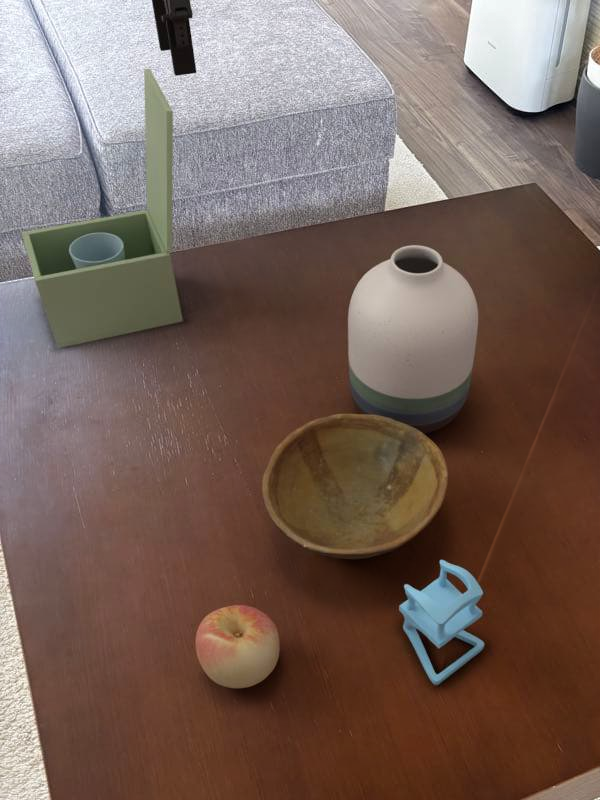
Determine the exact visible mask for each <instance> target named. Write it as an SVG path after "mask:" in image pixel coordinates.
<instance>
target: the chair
mask: <svg viewBox="0 0 600 800" xmlns="http://www.w3.org/2000/svg"><path fill="white" fill-rule="evenodd" d="M439 566H440V571H439V577H438V578H436V579H435V580H433V581H432V582H431V583H430V584H428V585H427V586H426V587H424V588H423V589H422V590H419V589H416V588H414V587H412V586H411V585H410V584H408V583H405V584H404V585H403V589H404V591H405V595H406V597H407V600H405V601H404V602H402V603H400V605H398V611H399V612H400V613H401V614H402V616H403V618H404V621H403V625H402V629H403V631H404V632H405V634H406V636H407V637H408V639H409V641H410V642H411V644H412V647H413V649H414V651H415V653H416V655H417V657H418V659H419V661H420V663H421V665H422V667H423V669H424V671H425V673H426V675H427V677H428V678H429V680H430V682H431V683H432V684H433V685H434V686H438V685H440V684H441V683H443V682H444V681H445V680H446V679H447V678H449V677H450V676H451V675H452V674H454V673H456V671H458V670H459V669H460V668H461V667H463V666H464V665H465V664H467V663H468V662H469V661H471V659H473V658H474V657H475V656H477V655H478V654H479V653H480V652H482V651H483V649H484V648H485V642H484V641H483V640H482V639H481V638H478V636H475V635H473V634H471V633H469V632H467V631H465V629H466V628H469V626H471V625H473V623H475V622H476V621H478V620H479V619H480V618H482V617H483V611H482V609H480V608H479V607H478V606H477V604H478V602H479V601H480V600H481V598H482V596H483V595H484V592H483V591H484V590H483V589H482V587H481V585H480V584H479V582H478V581H477V580H476V578H475V577H474V575H473V574H471V573H470V572H469V571H468V570H467V569H465V568H464V567H461V566H459V565H455V564H452V563H449V562H448V561H446V560H444V559H440V560H439ZM448 573H449V574H451V575H453V576H455V577H457V578H458V579H459V580H460V581H461V582H462V584H464V585H465V587H466V588H467V590H466V591H465V592H464V593H462V592H461V591H460V590H459V589H457V587H456V586H455V585H454V584H453V583H452V582H450V581H449V579H447V577H448V576H447V574H448ZM417 630H418V631H419V632H421V633H422V634H423V635H424V636H425V637H426V638H427V639H428V640H429V641H430V642H431V643H432V644H434V646H436V648H437V649H440V648H442V647H443V646H445V645H446V644H447V643H448V642H450V641H451V640H452V639H453V638H456V639H458V640H461V641H463V642H465V643H466V644H467V643H468V644H469V645H472V646H473V647H472V648H471V649H469V651H467V652H466V653H464V654H463V655H462V656H461V657H459V658H458V659H457V660H455V661H454V662H452V663H451V664H450V665H449V666H447V667H446V668H444V669H443V670H442V671H441V672H439V673H436V672H435V670H434V666H433V664H432V663H431V659H430V658H429V655H428V653H427V650H426V648H425V646H424V644H423V642H422V639H421V637H420V634H419V632H418V631H417Z"/></svg>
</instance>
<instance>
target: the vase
mask: <svg viewBox="0 0 600 800" xmlns="http://www.w3.org/2000/svg"><path fill="white" fill-rule="evenodd" d="M474 293H475V292H474V291H473V289H472V287H471V285H470V284H469V282H468V281H467V279H466V278H465V277H464V276H463V275H462V274H461V273H460V272H459V271H458V270H456V269H455V268H453V267H452V266H450V265H449V264H447V263H445V262H444V261H443V257H442V255H440V253H439V252H438V251H436V250H435V249H433V248H431V247H428V246H424V245H419V244H418V245H417V244H416V245H414V244H412V245H411V244H410V245H405V246H402V247H399V248H397V249H396V250H395V251H394V252H393V253H392V254H391V256H390V258H389V259H387V260H384V261H382V262H379V263H378V264H376V265H375V266H373V267H372V268H371V269H370V270H368V271H367V272H366V273H365V274H364V275H363V276H362V277H361V278H360V280H358V283H357V284H356V286H355V288H354V290H353V293H352V295H351V297H350V298H351V299H350V301H349V306H348V313H347V314H348V315H347V344H348V345H347V346H348V347H347V348H348V349H347V351H348V379H349V388H350V393H351V396H352V399H353V402H354V403H355V406H356V408H357V409H358V411H359V412H360V414H366V415H379V416H383V417H387V418H391V419H393V420H396V421H398V422H401V423H404V424H406V425H409V426H411V427H413V428H415V429H417V430H419V431H420V432H422V433H423V434H424V435H426V434H429V433H433V432H436V431H438V430H440V429H443V428H444V427H446V426H447V425H448V424H450V423H451V422H452V421H453V420H454V419H455V418H456V417H457V416H458V415H459V413H460V412H461V410H462V409H463V407H464V405H465V404H466V402H467V399H468V395H469V392H470V387H471V381H472V374H473V368H474V359H475V353H476V346H477V339H478V330H479V329H478V328H479V309H478V308H479V307H478V303H477V300H476V296H475V294H474Z"/></svg>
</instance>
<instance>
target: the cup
mask: <svg viewBox="0 0 600 800" xmlns="http://www.w3.org/2000/svg"><path fill="white" fill-rule="evenodd" d="M69 252H70V255H71V257H72V260H73V262H74V264H75V266H76V269H81V268H86V267H91V266H96V265H102V264H107V263H112V262H117V261H122V260H125V252H124V244H123V241H122V240H121V239H120V238H119V237H117V236H116V235H113V234H110V233H91V234H87V235H84V236H81V237H79V238H77V239H76V240H75V241H73V242H72V244H71V245H70V248H69Z"/></svg>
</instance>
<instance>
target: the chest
mask: <svg viewBox="0 0 600 800" xmlns="http://www.w3.org/2000/svg"><path fill="white" fill-rule="evenodd" d="M91 233H110V234H113V235H116V236H117V237H119V238H120V239H121V240H122V241H123V244H124V252H125V260H122V261H117V262H112V263H107V264H102V265H96V266H91V267H86V268H81V269H76V266H75V264H74V262H73V260H72V257H71V255H70V252H69V248H70V245H71V244H72V242H73V241H75V240H76V239H77V238H79V237H81V236H84V235H87V234H91ZM21 235H22V238H23V242H24V246H25V250H26V253H27V257H28V261H29V264H30V268H31V272H32V276H33V279H34V281H35V285H36V288H37V291H38V294H39V297H40V300H41V303H42V305H43V309H44V312H45V314H46V318H47V321H48V324H49V326H50V329H51V332H52V335H53V338H54V340H55V344H56V347H57V349H62V348H65V347H69V346H75V345H80V344H85V343H89V342H94V341H98V340H102V339H107V338H113V337H116V336H121V335H126V334H130V333H134V332H135V333H136V332H140V331H144V330H149V329H153V328H158V327H163V326H168V325H172V324H176V323H181V322H184V318H183V314H182V309H181V304H180V299H179V294H178V289H177V283H176V278H175V273H174V268H173V263H172V258H171V254H170V252H167V251H166V249H165V246H164V244H163V242H162V240H161V237H160V235H159V233H158V231H157V228H156V226H155V224H154V222H153V219H152V217H151V215H150V212H149V210H148V209H143V210H137V211H132V212H127V213H121V214H116V215H115V214H114V215H111V216H105V217H104V216H103V217H99V218H94V219H93V218H92V219H88V220H81V221H77V222H71V223H65V224H59V225H54V226H49V227H43V228H37V229H32V230H27V231H22V232H21Z"/></svg>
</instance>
